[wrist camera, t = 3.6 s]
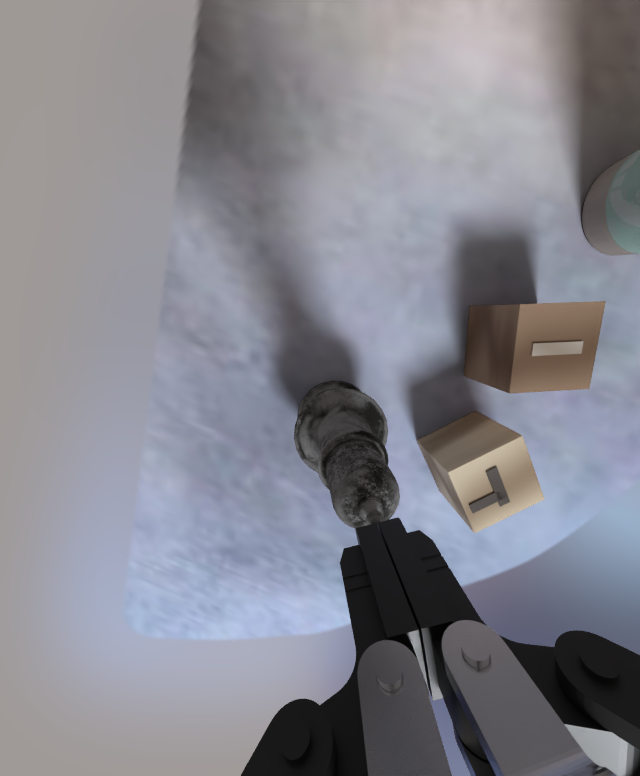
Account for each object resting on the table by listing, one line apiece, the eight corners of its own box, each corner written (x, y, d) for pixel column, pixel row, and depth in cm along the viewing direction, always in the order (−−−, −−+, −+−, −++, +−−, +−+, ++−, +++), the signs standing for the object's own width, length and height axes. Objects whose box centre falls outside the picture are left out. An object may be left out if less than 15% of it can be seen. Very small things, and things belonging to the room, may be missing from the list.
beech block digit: (416, 439, 24) (448, 473, 19) (475, 410, 23) (523, 436, 18) (439, 490, 25) (475, 534, 20) (495, 462, 25) (545, 500, 20)
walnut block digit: (468, 305, 21) (521, 304, 17) (536, 303, 22) (607, 301, 17) (463, 375, 23) (510, 393, 18) (526, 372, 23) (590, 389, 18)
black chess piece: (280, 434, 22) (265, 563, 11) (316, 362, 21) (344, 421, 10) (350, 464, 24) (405, 612, 12) (388, 398, 22) (489, 489, 11)
